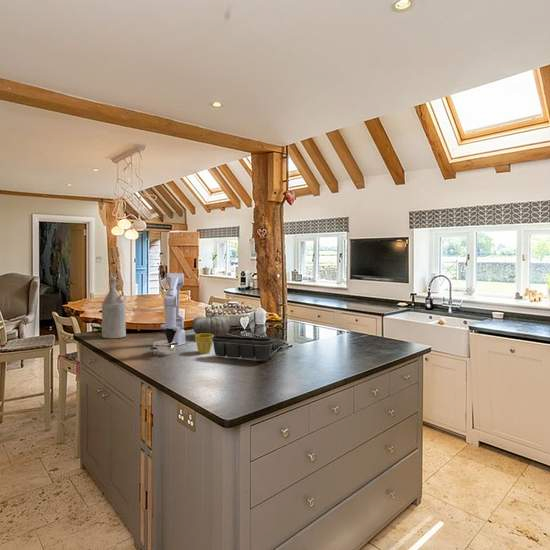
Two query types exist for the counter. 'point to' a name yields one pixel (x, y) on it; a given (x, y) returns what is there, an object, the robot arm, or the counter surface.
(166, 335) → the robot arm
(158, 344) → the cooker lid
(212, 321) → the gourd
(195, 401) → the counter surface
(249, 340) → the dish rack
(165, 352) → the cooker pot
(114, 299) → the grey bottle
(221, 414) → the counter surface
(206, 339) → the plant pot
